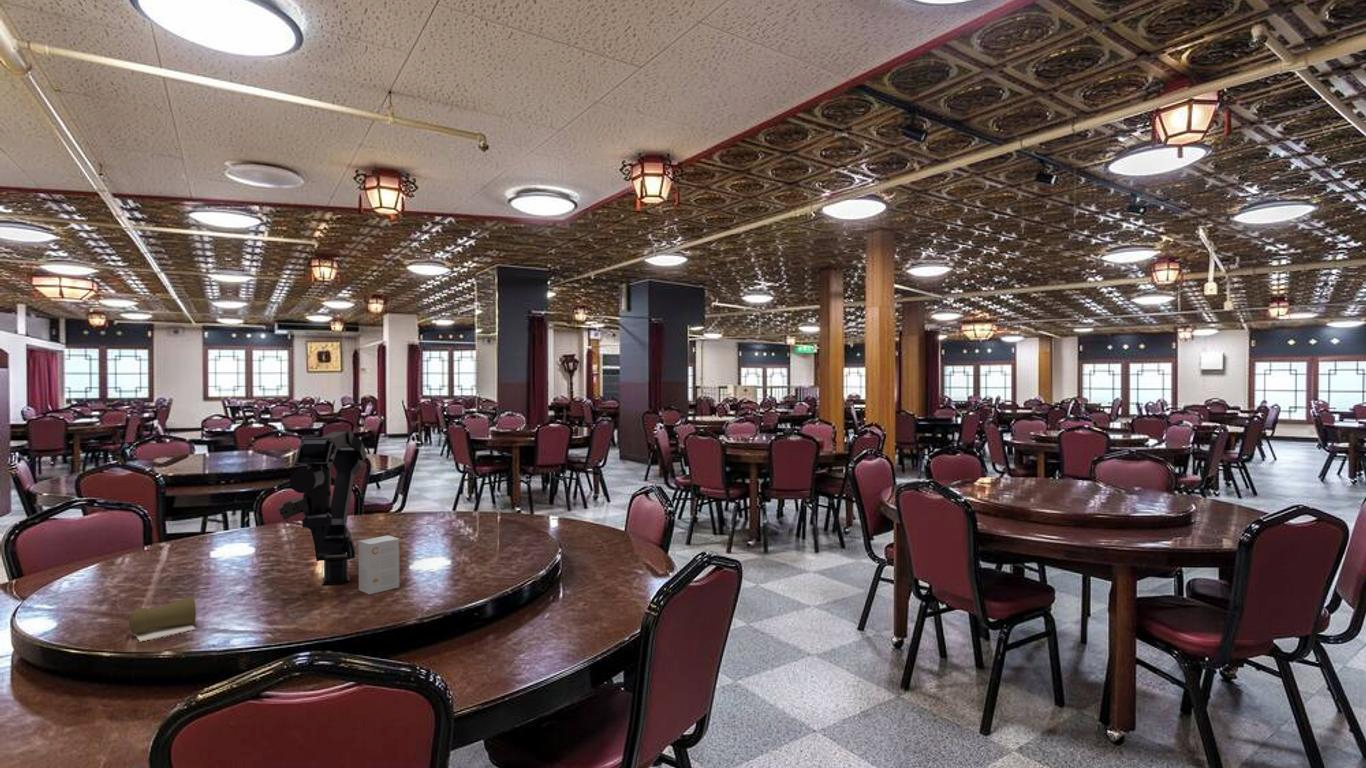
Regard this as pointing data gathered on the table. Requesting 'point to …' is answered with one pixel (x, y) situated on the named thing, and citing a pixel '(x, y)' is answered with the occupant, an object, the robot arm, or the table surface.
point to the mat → (163, 632)
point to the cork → (163, 616)
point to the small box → (378, 564)
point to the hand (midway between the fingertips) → (317, 549)
